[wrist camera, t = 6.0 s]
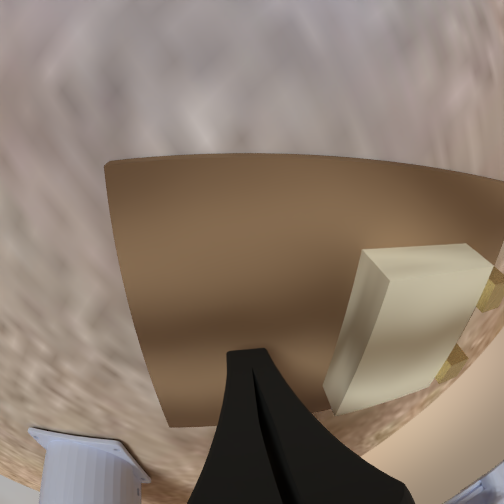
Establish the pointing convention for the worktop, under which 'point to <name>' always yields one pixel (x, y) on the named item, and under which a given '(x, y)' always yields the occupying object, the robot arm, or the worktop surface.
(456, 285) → the ivory block
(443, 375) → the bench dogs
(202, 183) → the bench board
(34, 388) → the worktop surface
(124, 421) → the worktop surface
